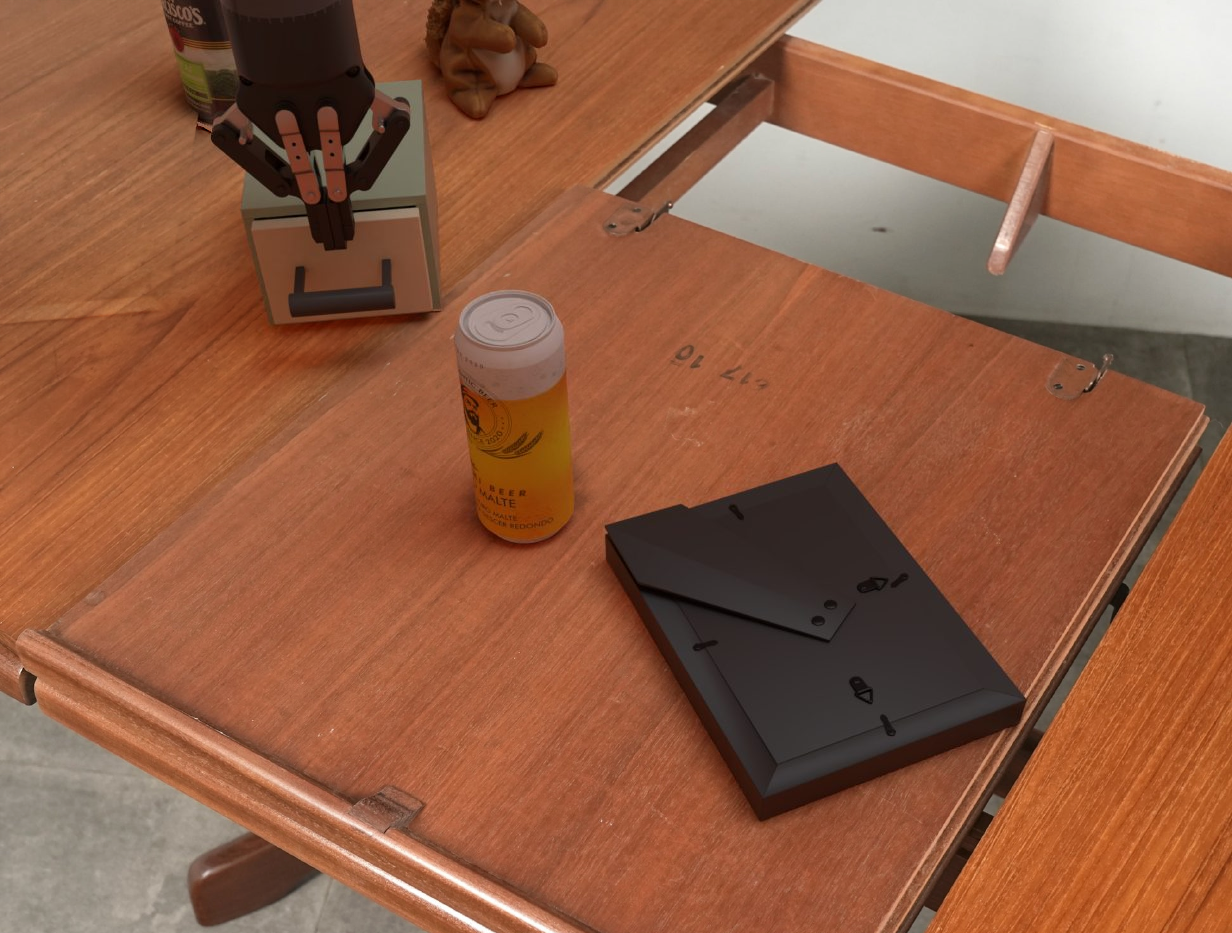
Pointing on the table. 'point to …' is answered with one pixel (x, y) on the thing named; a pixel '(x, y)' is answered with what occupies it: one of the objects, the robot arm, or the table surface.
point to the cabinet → (396, 186)
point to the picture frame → (807, 637)
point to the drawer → (344, 267)
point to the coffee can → (203, 55)
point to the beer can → (516, 414)
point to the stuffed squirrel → (486, 50)
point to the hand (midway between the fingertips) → (336, 243)
